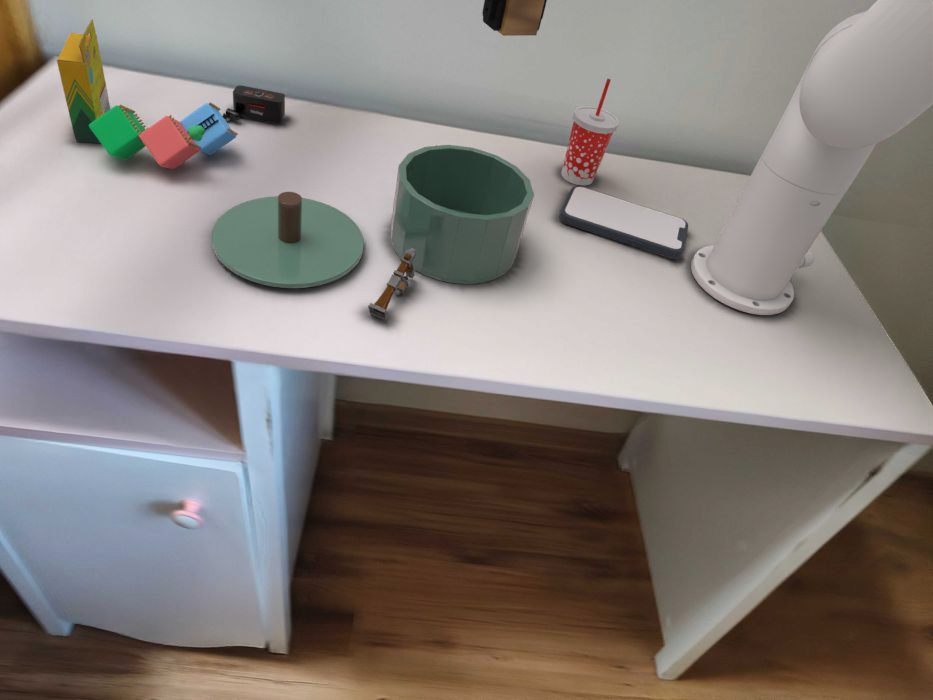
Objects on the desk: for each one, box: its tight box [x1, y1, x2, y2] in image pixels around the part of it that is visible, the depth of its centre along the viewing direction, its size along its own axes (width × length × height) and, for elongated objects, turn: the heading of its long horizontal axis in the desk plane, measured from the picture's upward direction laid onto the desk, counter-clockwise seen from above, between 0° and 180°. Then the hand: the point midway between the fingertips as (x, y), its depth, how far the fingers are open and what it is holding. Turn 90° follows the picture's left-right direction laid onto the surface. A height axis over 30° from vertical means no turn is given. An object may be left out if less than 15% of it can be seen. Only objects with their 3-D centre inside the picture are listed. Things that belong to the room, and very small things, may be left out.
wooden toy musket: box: [367, 248, 416, 321], centre depth 70 cm, size 2×8×4 cm, turn 157°
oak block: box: [497, 0, 545, 37], centre depth 80 cm, size 5×5×5 cm
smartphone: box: [558, 185, 689, 260], centre depth 89 cm, size 9×2×16 cm
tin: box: [389, 144, 535, 285], centre depth 77 cm, size 15×15×8 cm
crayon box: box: [56, 19, 112, 144], centre depth 80 cm, size 7×3×12 cm, turn 10°
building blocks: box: [89, 101, 239, 170], centre depth 80 cm, size 8×8×12 cm
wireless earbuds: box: [222, 84, 286, 125], centre depth 91 cm, size 5×7×3 cm, turn 87°
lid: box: [211, 191, 365, 289], centre depth 72 cm, size 16×16×6 cm
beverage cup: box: [560, 78, 620, 187], centre depth 92 cm, size 6×6×14 cm
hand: (510, 24), depth 81 cm, fingers closed on oak block, 4 cm apart
